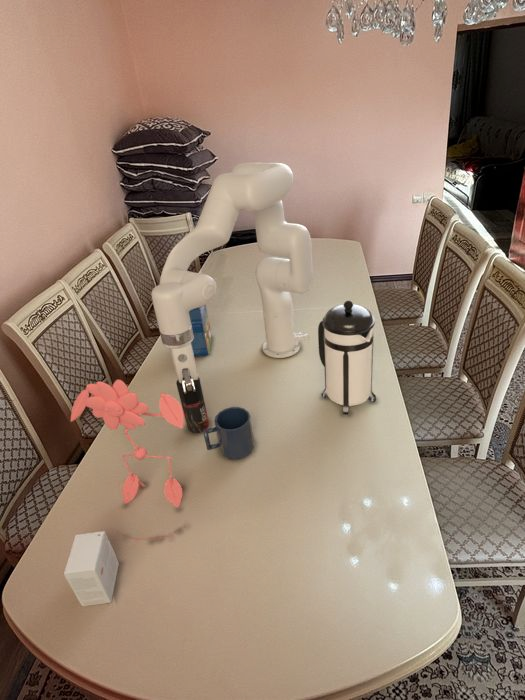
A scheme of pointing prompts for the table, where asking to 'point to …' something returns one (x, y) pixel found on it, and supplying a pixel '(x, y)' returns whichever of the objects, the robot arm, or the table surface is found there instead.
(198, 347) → the blue food package
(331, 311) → the coffee press
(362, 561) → the table surface
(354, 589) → the table surface
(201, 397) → the deodorant
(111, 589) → the small box
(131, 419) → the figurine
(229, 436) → the mug
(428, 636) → the table surface
